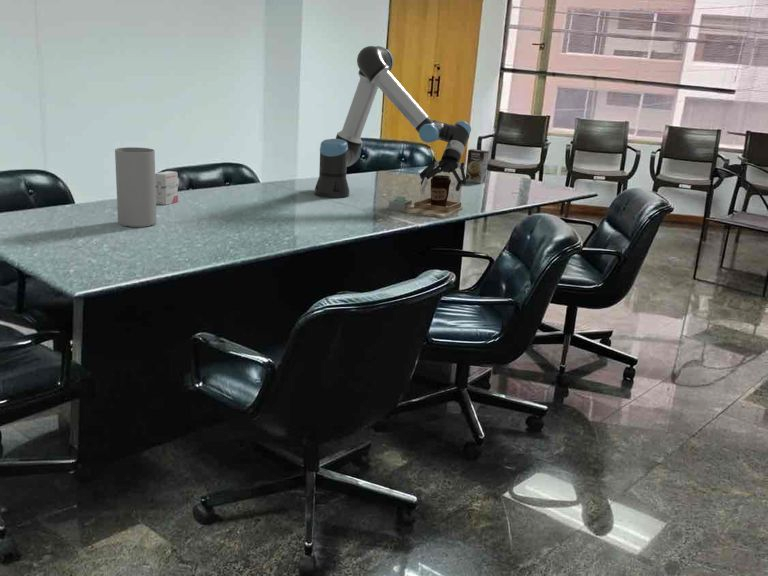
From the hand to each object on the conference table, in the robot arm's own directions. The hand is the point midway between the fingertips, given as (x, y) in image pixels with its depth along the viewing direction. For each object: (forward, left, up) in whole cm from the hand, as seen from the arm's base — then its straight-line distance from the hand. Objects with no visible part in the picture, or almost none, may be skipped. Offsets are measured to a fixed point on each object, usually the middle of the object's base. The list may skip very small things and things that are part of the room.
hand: (436, 194), depth 313 cm
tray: (-1, -1, -7) cm, 7 cm away
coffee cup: (0, +2, -6) cm, 6 cm away
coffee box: (-11, +84, -7) cm, 85 cm away
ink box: (-89, -59, -7) cm, 107 cm away
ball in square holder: (-13, -7, -7) cm, 16 cm away
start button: (-13, -7, -6) cm, 16 cm away
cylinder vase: (-73, -93, -7) cm, 118 cm away
